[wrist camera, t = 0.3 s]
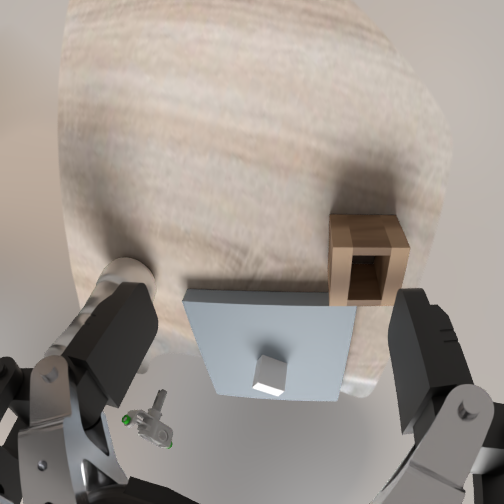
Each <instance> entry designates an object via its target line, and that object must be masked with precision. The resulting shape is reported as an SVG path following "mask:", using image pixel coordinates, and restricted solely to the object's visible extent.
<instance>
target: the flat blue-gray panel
mask: <svg viewBox="0 0 504 504" xmlns="http://www.w3.org/2000/svg"><path fill="white" fill-rule="evenodd" d="M182 302H183V305H184V308H185V311H186V314H187V317H188V320H189V322H190V325H191V328H192V331H193V333H194V336H195V339H196V342H197V344H198V347H199V350H200V352H201V355H202V357H203V360H204V363H205V365H206V367H207V370H208V373H209V375H210V378H211V380H212V383H213V385H214V387H215V390H216V393H217V394H221V395H230V396H239V397H250V398H263V399H278V400H300V401H337V400H338V396H339V392H340V388H341V384H342V379H343V375H344V371H345V366H346V361H347V356H348V352H349V347H350V341H351V336H352V331H353V325H354V320H355V314H356V308H357V306H329V292H265V291H230V290H203V289H187V291H186V294H185V296H184V298H183V300H182Z"/></svg>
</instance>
